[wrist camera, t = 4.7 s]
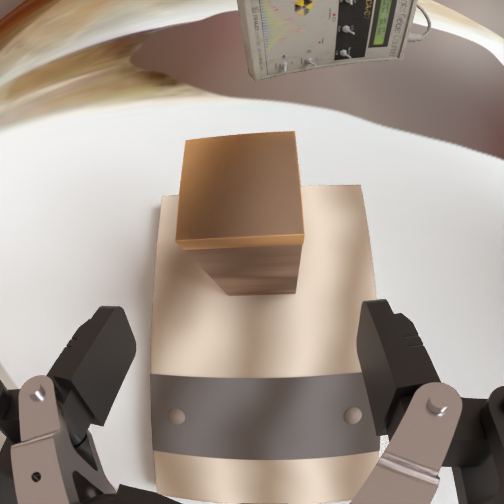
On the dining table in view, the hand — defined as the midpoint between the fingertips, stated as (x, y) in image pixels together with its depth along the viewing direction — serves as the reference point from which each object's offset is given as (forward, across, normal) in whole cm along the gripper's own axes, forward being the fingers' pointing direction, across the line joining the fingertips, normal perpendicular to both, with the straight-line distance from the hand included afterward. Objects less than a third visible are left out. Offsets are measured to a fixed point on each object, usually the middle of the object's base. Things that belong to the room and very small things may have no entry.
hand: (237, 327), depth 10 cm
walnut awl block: (+12, 0, +4) cm, 12 cm away
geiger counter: (+31, -11, -13) cm, 36 cm away
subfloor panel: (+8, 0, +9) cm, 13 cm away
